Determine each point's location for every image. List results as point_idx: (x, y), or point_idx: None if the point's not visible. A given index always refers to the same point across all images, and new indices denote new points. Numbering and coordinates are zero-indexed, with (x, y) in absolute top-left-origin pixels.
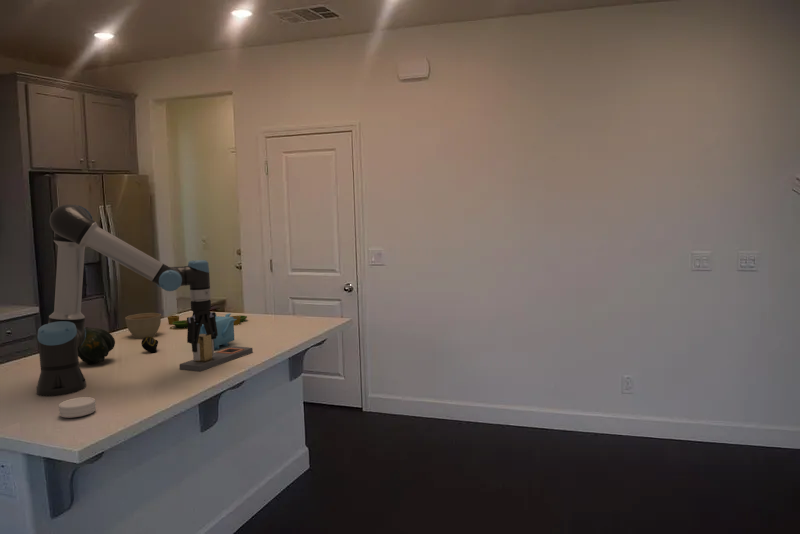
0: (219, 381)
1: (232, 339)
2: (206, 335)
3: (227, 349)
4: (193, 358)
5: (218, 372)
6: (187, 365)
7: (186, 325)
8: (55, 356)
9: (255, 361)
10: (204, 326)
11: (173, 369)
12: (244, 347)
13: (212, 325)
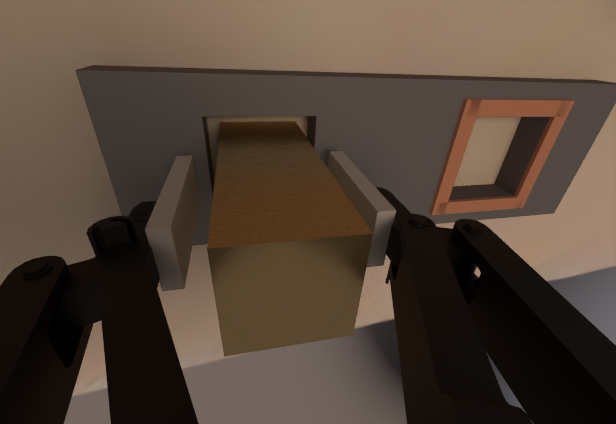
0: (79, 391)
1: None
2: (292, 338)
3: (536, 115)
4: (175, 159)
5: (178, 309)
6: (105, 154)
7: None
8: None
9: (380, 305)
10: (426, 356)
11: (53, 8)
12: (571, 172)
13: (518, 360)
